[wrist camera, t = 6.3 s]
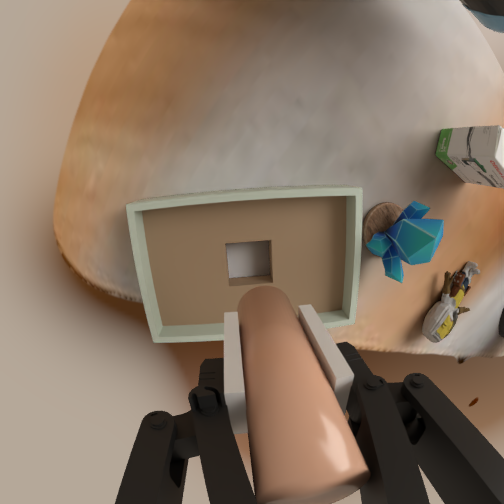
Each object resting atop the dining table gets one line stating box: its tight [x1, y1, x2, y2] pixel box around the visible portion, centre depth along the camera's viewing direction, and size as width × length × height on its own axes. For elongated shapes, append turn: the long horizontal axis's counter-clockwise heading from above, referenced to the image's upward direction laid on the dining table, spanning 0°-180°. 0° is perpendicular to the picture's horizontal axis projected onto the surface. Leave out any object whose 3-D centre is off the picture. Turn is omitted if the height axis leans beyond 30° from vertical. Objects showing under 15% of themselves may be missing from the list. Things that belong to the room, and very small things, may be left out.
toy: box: [422, 261, 480, 343], centre depth 36 cm, size 12×5×15 cm
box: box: [126, 185, 362, 343], centre depth 30 cm, size 16×24×5 cm, turn 94°
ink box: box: [436, 125, 504, 189], centre depth 25 cm, size 9×5×12 cm, turn 68°
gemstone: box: [362, 201, 444, 283], centre depth 27 cm, size 7×9×12 cm
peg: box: [237, 286, 371, 504], centre depth 12 cm, size 4×4×13 cm
